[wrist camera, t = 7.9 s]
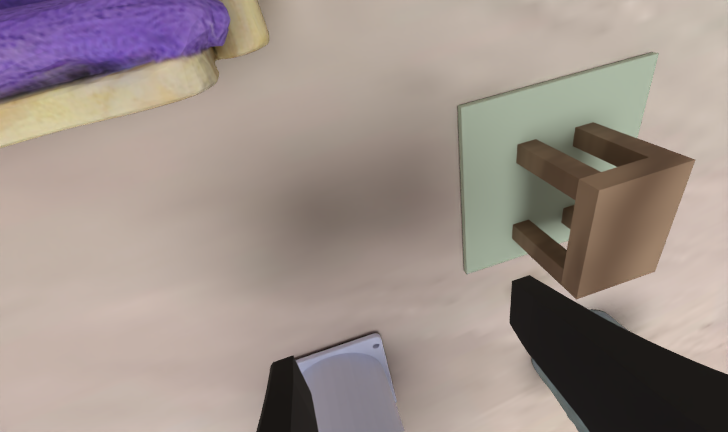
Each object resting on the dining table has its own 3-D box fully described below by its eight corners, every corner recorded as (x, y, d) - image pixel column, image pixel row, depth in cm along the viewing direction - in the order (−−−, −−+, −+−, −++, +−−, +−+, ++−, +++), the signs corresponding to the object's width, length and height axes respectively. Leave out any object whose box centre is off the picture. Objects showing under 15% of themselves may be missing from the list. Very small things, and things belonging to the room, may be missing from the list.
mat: (610, 222, 27) (615, 225, 27) (463, 270, 26) (466, 274, 25) (652, 52, 20) (658, 53, 20) (457, 105, 19) (461, 107, 19)
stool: (593, 122, 21) (695, 159, 16) (576, 217, 25) (654, 271, 20) (517, 144, 21) (599, 190, 16) (511, 238, 25) (576, 299, 20)
